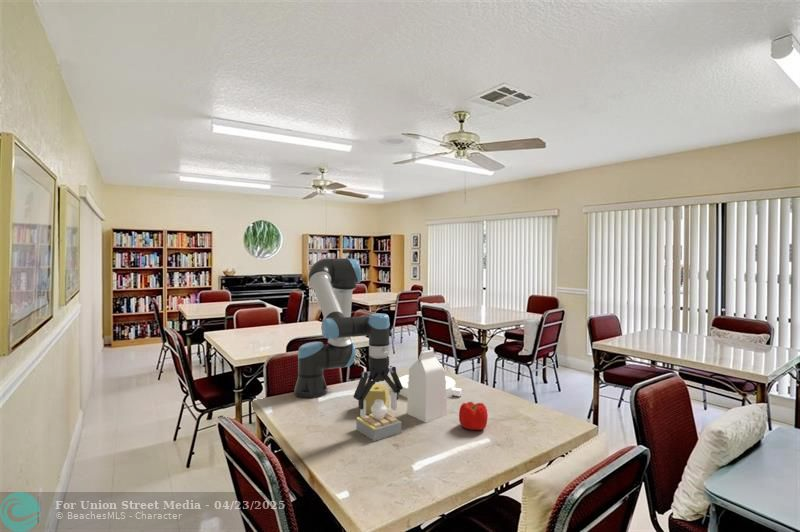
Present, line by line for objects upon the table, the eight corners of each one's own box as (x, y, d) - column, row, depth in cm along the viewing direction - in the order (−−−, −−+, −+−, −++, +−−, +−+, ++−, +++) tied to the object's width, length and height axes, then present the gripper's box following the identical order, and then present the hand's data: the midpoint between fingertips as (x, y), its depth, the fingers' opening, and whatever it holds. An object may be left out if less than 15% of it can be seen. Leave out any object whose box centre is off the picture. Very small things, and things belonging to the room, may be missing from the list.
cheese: (388, 406, 173) (388, 383, 173) (385, 415, 162) (385, 391, 162) (365, 405, 174) (365, 382, 174) (360, 414, 163) (360, 390, 163)
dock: (356, 429, 149) (356, 416, 149) (383, 421, 156) (383, 409, 156) (373, 441, 139) (373, 427, 139) (401, 432, 147) (401, 419, 146)
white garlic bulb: (368, 415, 149) (368, 397, 149) (384, 413, 152) (384, 395, 151) (373, 422, 144) (373, 403, 143) (389, 419, 146) (389, 400, 146)
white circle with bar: (464, 398, 184) (464, 388, 184) (406, 403, 177) (406, 393, 177) (442, 380, 211) (442, 371, 211) (391, 384, 204) (391, 375, 204)
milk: (425, 422, 156) (426, 356, 155) (406, 413, 165) (407, 350, 164) (447, 414, 164) (447, 351, 163) (427, 406, 173) (428, 346, 172)
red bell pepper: (488, 422, 156) (488, 399, 156) (486, 435, 145) (486, 411, 144) (460, 419, 159) (461, 397, 159) (456, 432, 147) (457, 407, 147)
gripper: (354, 363, 137) (354, 424, 137) (411, 353, 152) (411, 408, 152) (344, 358, 143) (344, 417, 143) (400, 349, 158) (399, 403, 158)
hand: (378, 413), depth 148 cm, fingers open, 13 cm apart
